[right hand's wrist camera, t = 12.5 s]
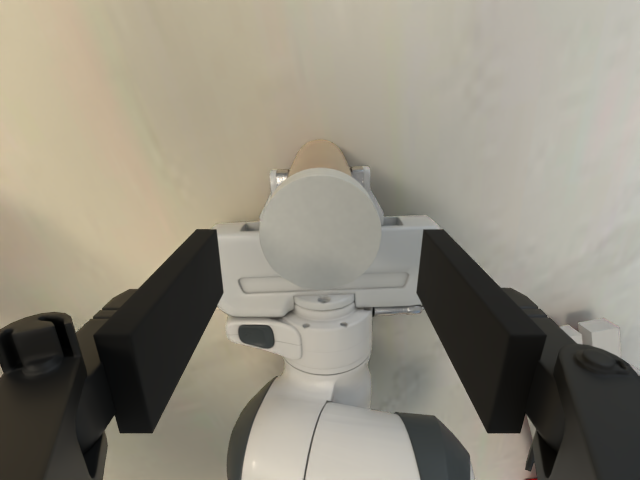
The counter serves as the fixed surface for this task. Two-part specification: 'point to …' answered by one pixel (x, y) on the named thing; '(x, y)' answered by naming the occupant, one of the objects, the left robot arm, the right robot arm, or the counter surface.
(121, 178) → the counter surface
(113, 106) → the counter surface
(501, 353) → the right robot arm
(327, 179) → the lid
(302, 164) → the tan brown cylinder
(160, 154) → the counter surface
